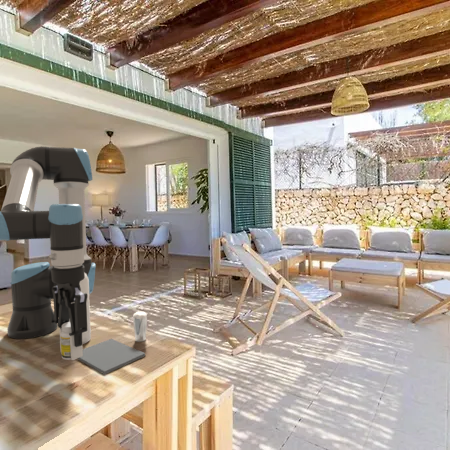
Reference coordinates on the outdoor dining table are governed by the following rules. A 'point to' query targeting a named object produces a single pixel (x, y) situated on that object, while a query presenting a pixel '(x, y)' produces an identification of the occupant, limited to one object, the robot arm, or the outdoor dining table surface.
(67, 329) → the supplement bottle
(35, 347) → the outdoor dining table surface
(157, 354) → the outdoor dining table surface
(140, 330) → the milkshake
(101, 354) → the slate mat
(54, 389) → the outdoor dining table surface
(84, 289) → the bottle
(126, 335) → the outdoor dining table surface
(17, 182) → the robot arm
